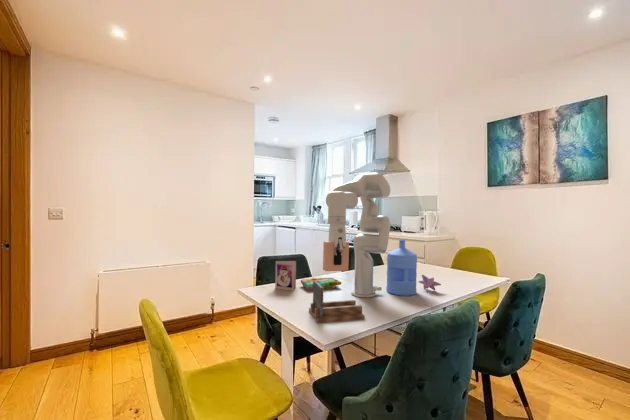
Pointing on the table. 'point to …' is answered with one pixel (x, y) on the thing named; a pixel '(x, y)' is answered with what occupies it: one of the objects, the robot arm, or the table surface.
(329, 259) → the book
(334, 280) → the puzzle game
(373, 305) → the table surface
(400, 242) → the water jug
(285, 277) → the greeting card
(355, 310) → the book rack
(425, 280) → the lily
